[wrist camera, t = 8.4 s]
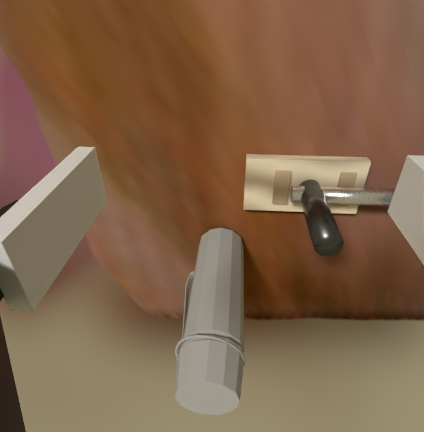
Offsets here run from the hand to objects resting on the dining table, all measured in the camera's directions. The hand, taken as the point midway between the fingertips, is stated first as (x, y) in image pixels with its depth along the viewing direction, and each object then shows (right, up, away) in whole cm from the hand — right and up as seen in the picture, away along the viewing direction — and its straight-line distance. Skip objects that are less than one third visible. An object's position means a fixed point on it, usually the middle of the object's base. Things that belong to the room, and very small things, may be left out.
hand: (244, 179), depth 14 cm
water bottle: (-1, -6, +39) cm, 40 cm away
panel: (+11, +3, +31) cm, 34 cm away
